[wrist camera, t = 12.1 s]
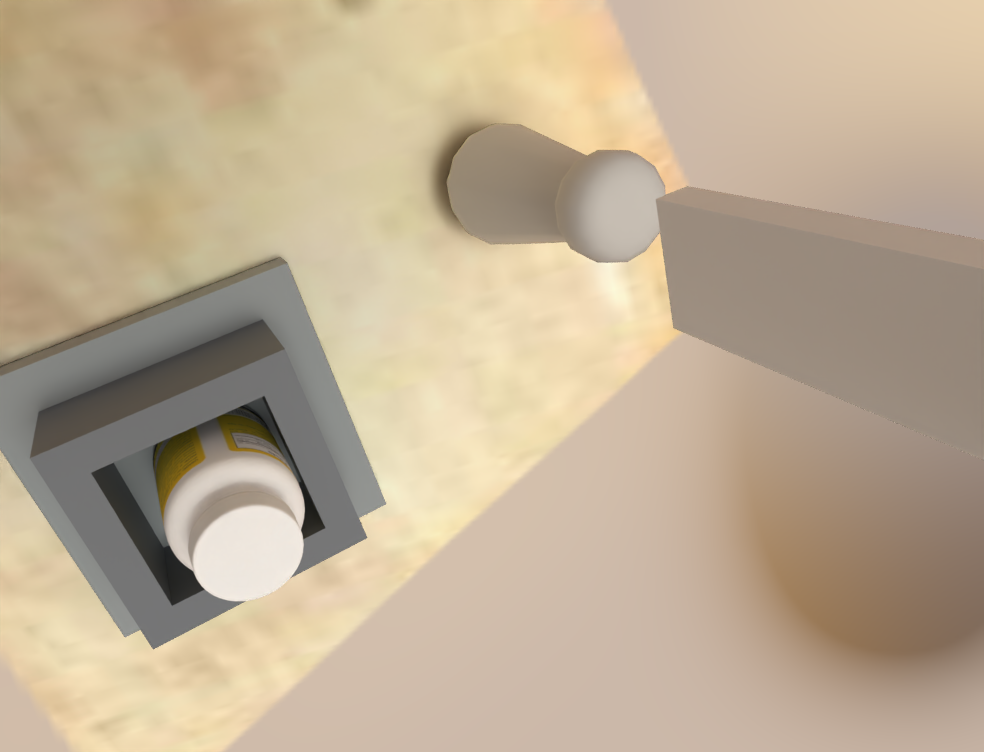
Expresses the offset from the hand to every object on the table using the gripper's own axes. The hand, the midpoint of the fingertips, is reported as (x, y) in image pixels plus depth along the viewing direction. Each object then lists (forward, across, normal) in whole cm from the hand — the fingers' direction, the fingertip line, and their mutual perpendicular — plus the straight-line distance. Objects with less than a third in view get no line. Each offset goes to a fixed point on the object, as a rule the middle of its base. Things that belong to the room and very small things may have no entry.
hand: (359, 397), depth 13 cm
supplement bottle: (+24, -4, -11) cm, 26 cm away
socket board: (+25, -4, -11) cm, 28 cm away
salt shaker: (+25, +14, -4) cm, 29 cm away
